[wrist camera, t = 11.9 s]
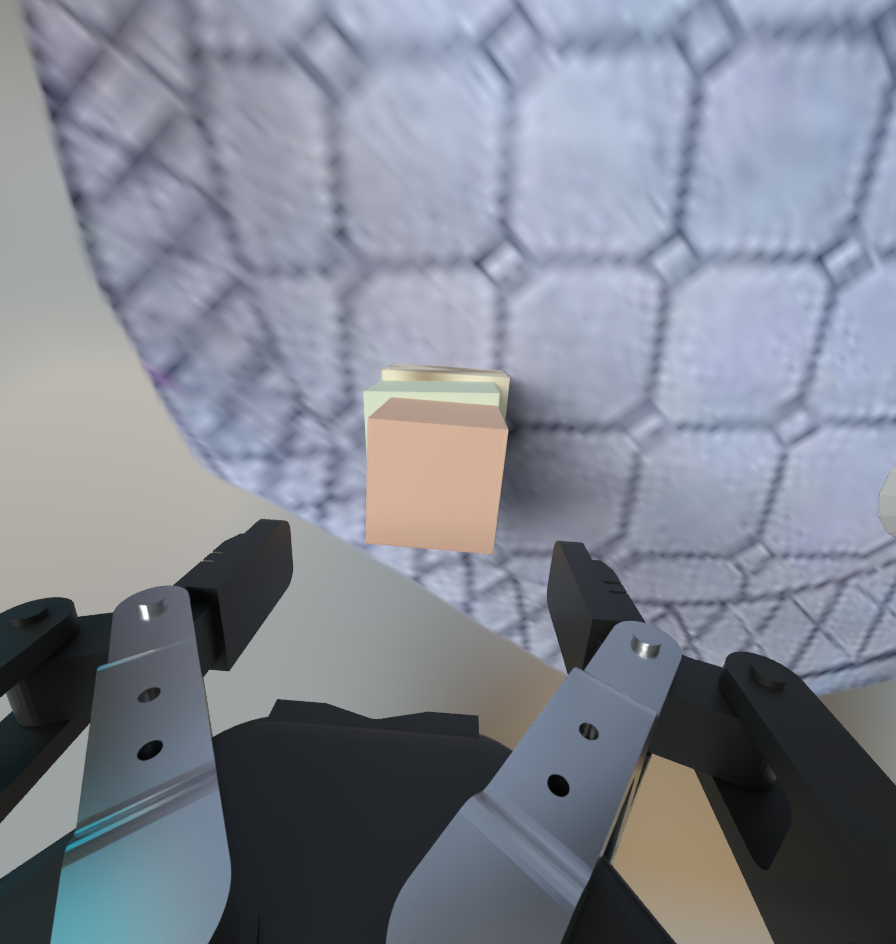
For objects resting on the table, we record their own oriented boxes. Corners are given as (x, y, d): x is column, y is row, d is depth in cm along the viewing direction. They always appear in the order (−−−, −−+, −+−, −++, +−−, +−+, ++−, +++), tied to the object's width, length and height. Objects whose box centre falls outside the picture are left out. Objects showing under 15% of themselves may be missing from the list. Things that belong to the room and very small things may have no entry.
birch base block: (502, 370, 30) (509, 377, 26) (492, 472, 33) (497, 496, 28) (394, 363, 30) (382, 369, 26) (392, 466, 33) (381, 488, 28)
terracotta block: (497, 405, 21) (508, 430, 16) (486, 503, 23) (492, 554, 18) (391, 396, 21) (367, 418, 16) (387, 495, 23) (365, 543, 18)
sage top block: (492, 381, 26) (499, 393, 21) (488, 486, 28) (493, 518, 23) (381, 380, 26) (363, 391, 21) (385, 484, 28) (370, 515, 23)
